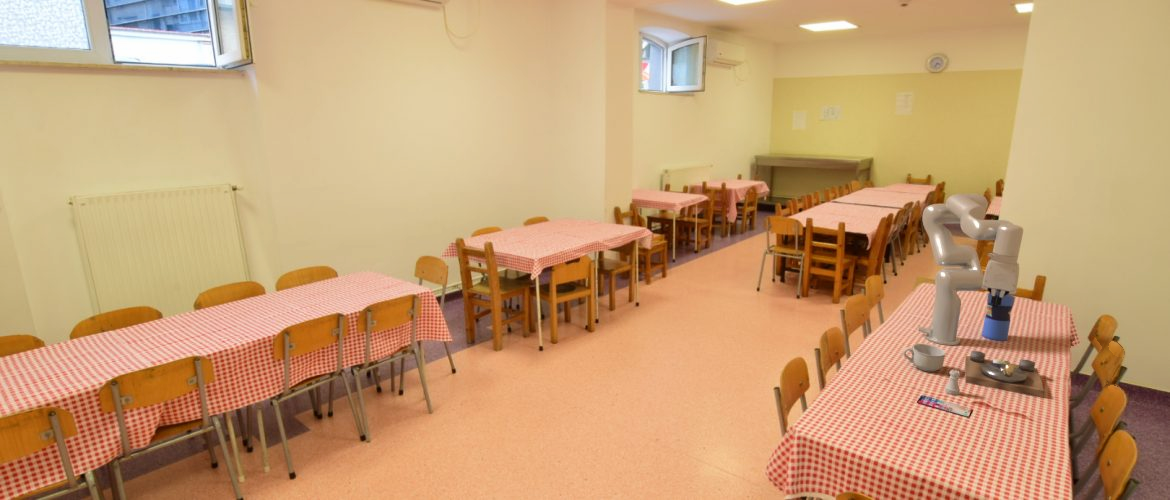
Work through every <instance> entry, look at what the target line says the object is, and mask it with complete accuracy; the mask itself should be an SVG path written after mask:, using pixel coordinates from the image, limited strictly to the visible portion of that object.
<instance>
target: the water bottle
mask: <svg viewBox="0 0 1170 500" xmlns="http://www.w3.org/2000/svg"><path fill="white" fill-rule="evenodd" d="M1000 292H1001V290H998V289H996V293H997V296H998V295H999V294H1000ZM991 299H992V295H991V294H990V292H988V293H987V297H986V303H987V311H986V313H985V315H984V321H983V326H982V327H983V328H982V332H981V333H982V334H981V336H982V337H983V338H984V339H987V340H989V341H995V342H1007V341H1008V337H1009V332H1010V325H1011V313H1012V310H1013V306H1014V305H1015V300H1016V299H1015V296H1014V295H1013V294H1007V295H1005V296H1003V297H1002V301H1001V305H998V308H997V307H992V306H993V304H991ZM996 301H997V299H996ZM995 306H996V304H995Z"/></svg>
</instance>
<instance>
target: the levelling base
mask: <svg viewBox="0 0 1170 500" xmlns="http://www.w3.org/2000/svg"><path fill="white" fill-rule="evenodd" d="M964 359H965V360H964V369H965V370H964V372H965V373H964V376H965V377H964V379H965V383H967V384H972V385H977V386H981V387H987V388H992V389H997V390H1002V391H1006V392H1012V393H1016V394H1020V395H1021V394H1022V395H1027V396H1032V397H1037V398H1042V399H1044V395H1045V388H1044V386H1043V382H1042V379H1041V377H1040V374H1039V373H1040V372H1039V371H1038V368H1036V367H1035V365H1036V362H1034V361H1033V360H1031V359H1030V360H1029V359H1020V360H1019V364H1015V363H1011V362H1010V361H1007V360H1006V359H1001V358H999V359H998V358H995V359H987V358H986V354H985V353H984V352H982V351H977V350H971V352H970V356H969V355H965V358H964ZM985 363H999V364H1012V365H1014V367H1016V368H1018V369H1021V370H1022V371H1024V372H1025V373H1026V374H1027V377H1026V381H1025V382H1024V383H1019V384H1014V383H1006V382H1001V381H997V380H994V379H991V378H989V377H987V376H985V375H984V374H982V372H981V369H982V365H983V364H985Z"/></svg>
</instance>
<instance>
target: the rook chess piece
mask: <svg viewBox="0 0 1170 500" xmlns="http://www.w3.org/2000/svg"><path fill="white" fill-rule="evenodd" d="M948 373H949V375H950V376H949V380H948V383H947V384H946V385H945V387H944V392H946V393H947V394H948V395H953V396H958V395H960V392H961V389H960V387H959V379H960V378H959V377H960V376H961V372H960V371H959V370H958V369H951V370H950V371H949V372H948Z"/></svg>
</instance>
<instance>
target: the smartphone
mask: <svg viewBox="0 0 1170 500" xmlns="http://www.w3.org/2000/svg"><path fill="white" fill-rule="evenodd" d="M916 403H917V404H919V405H921V406H925V407H929V408H932V409H935V410H939V411H942V412H946V413H949V414H952V415H957V416H959V417H964V418H970V417H971V416H972V413H973V412H974V410H973V408H971V407H967V406H964V405H960V404H956V403H953V402H950V401H946V400H942V399H938V398H934V397H931V396H927V395H921V396H920V397H919V398H918V399H917V400H916Z"/></svg>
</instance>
